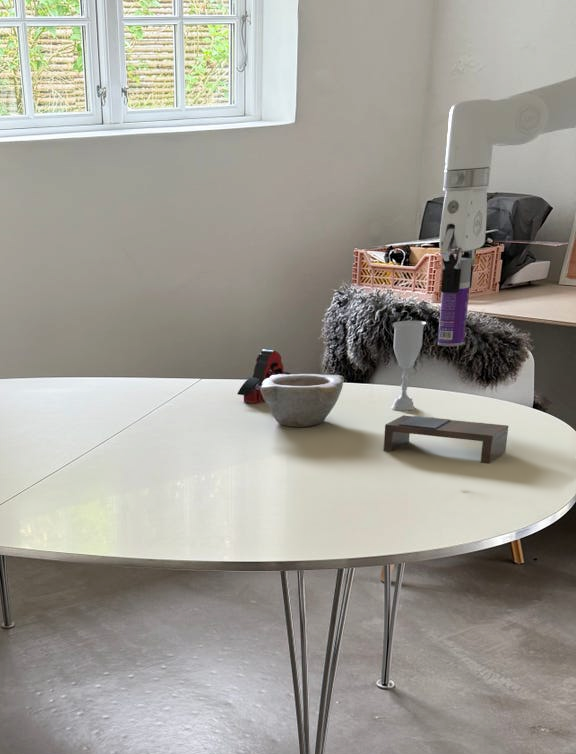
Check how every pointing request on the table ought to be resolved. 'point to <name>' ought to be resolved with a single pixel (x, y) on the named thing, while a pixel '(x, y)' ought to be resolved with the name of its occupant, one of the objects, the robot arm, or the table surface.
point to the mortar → (301, 397)
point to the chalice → (406, 355)
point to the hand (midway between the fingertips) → (456, 289)
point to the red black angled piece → (261, 375)
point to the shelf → (448, 433)
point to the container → (455, 310)
